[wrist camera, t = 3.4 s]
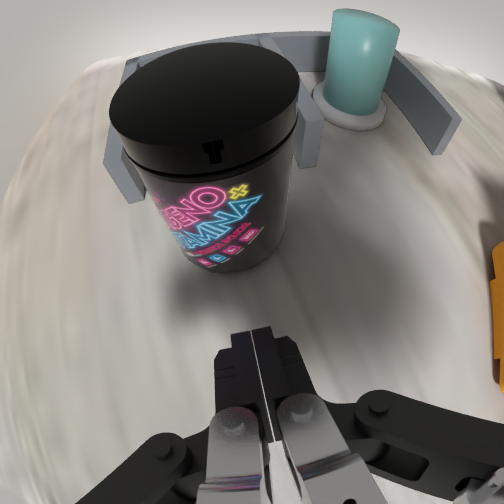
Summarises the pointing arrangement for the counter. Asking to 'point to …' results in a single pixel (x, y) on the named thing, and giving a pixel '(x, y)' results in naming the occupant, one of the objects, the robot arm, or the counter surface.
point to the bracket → (498, 308)
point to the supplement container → (214, 147)
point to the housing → (328, 88)
